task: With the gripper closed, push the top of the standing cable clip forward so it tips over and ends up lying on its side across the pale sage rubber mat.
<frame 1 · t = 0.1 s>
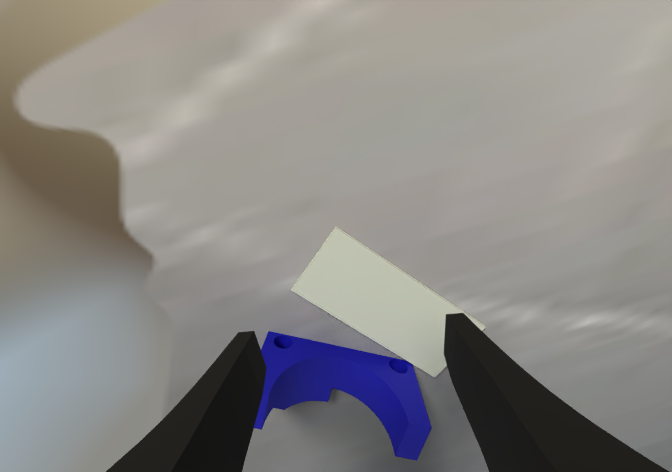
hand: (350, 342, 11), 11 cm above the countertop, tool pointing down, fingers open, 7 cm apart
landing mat: (388, 306, 22), on the countertop
cable clip: (334, 365, 25), on the countertop
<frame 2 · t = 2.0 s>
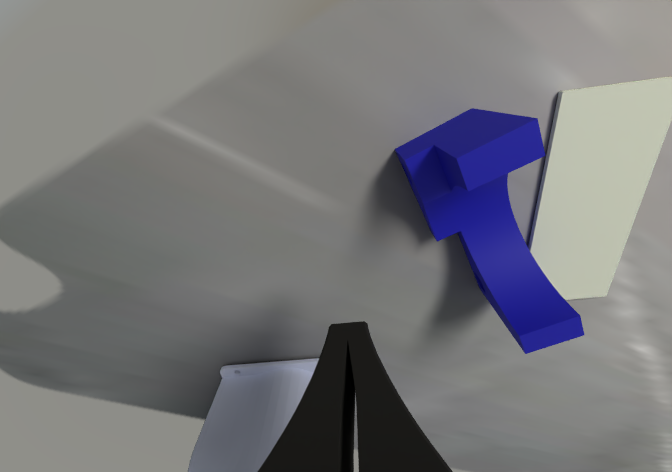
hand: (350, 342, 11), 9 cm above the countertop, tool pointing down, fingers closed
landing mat: (584, 208, 18), on the countertop
cable clip: (462, 214, 19), on the countertop
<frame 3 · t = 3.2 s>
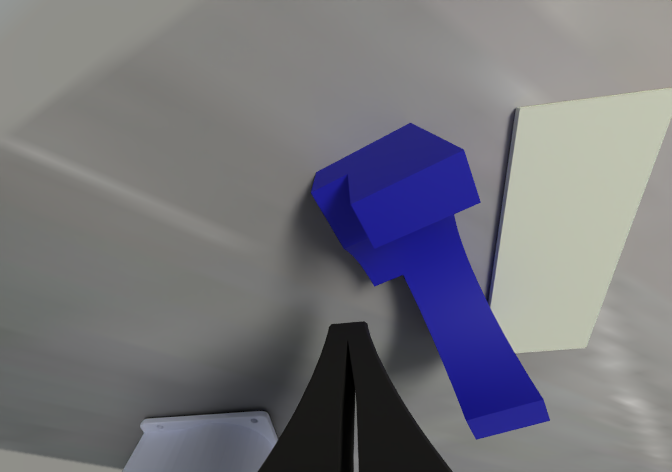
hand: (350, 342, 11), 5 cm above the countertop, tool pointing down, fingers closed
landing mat: (555, 249, 15), on the countertop
cable clip: (410, 250, 15), on the countertop
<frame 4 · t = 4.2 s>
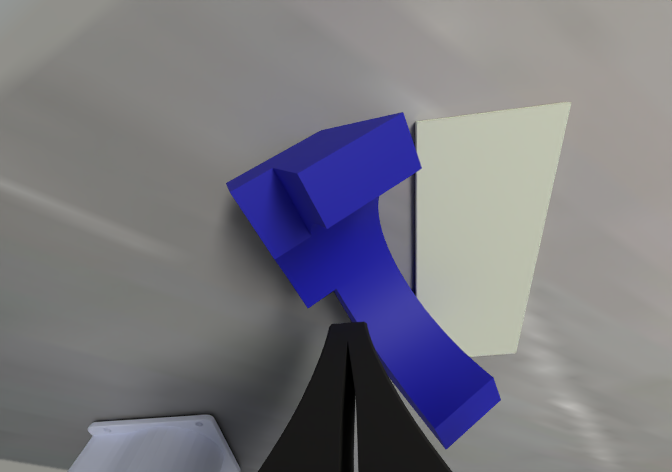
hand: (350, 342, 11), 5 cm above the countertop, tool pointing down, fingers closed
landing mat: (473, 257, 15), on the countertop
cable clip: (336, 266, 15), point 1 cm above the countertop, touching gripper
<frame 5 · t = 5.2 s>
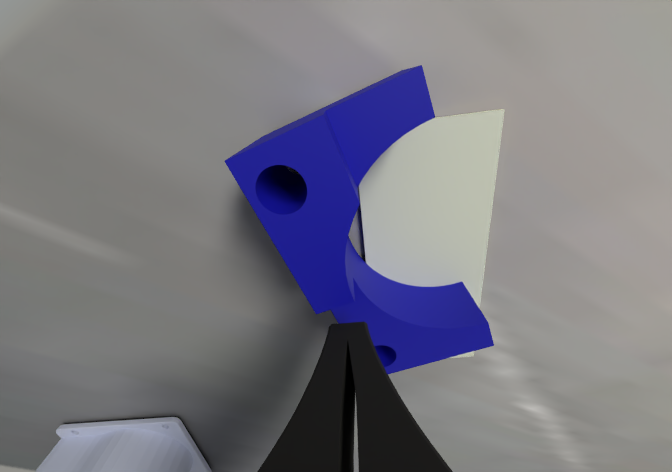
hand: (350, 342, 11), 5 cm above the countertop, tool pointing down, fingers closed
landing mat: (423, 262, 15), on the countertop
cable clip: (315, 279, 13), point 3 cm above the countertop, touching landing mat
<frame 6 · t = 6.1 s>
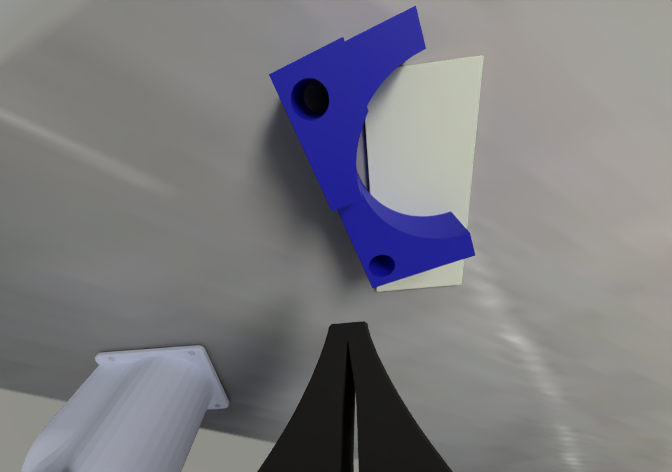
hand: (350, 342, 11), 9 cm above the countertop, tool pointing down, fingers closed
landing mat: (418, 194, 18), on the countertop
cable clip: (329, 196, 15), point 3 cm above the countertop, touching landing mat
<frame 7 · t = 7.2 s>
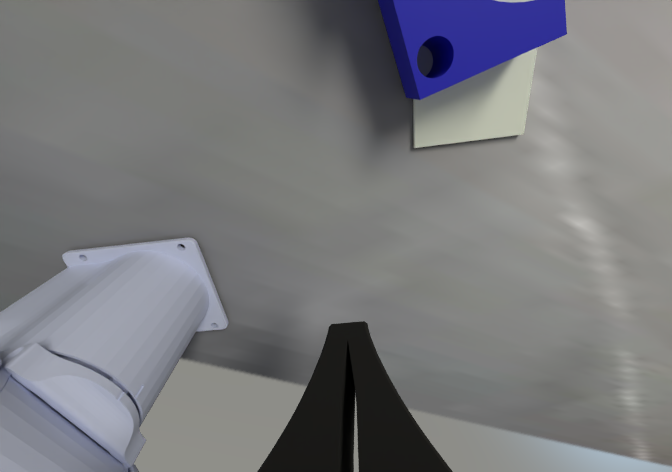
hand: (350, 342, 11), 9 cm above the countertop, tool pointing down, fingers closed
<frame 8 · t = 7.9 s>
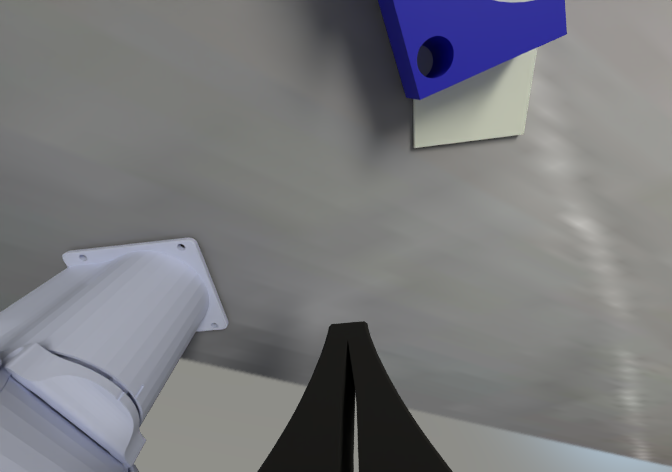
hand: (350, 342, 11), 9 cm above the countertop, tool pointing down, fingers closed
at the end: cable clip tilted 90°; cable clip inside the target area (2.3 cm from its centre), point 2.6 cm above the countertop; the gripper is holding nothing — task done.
